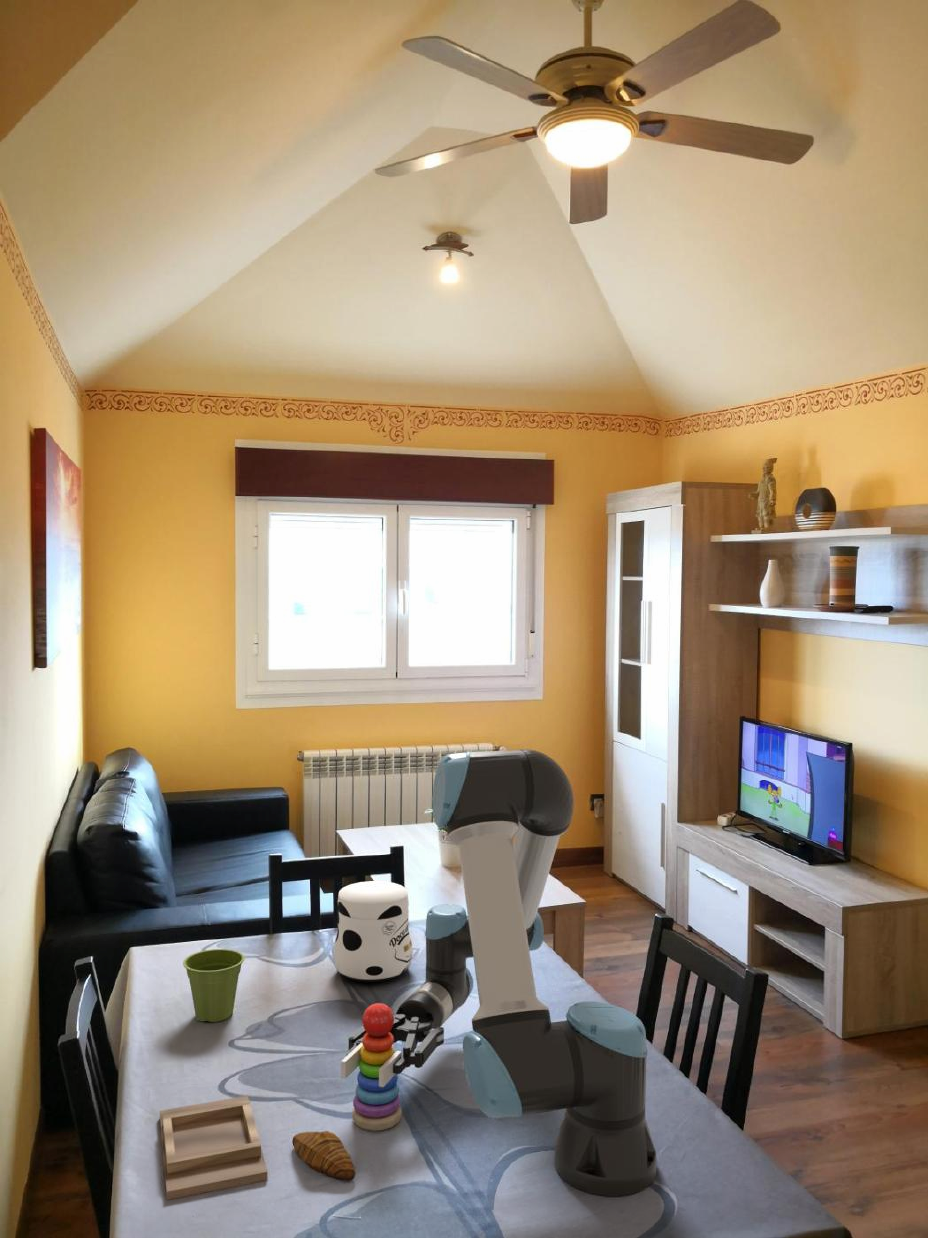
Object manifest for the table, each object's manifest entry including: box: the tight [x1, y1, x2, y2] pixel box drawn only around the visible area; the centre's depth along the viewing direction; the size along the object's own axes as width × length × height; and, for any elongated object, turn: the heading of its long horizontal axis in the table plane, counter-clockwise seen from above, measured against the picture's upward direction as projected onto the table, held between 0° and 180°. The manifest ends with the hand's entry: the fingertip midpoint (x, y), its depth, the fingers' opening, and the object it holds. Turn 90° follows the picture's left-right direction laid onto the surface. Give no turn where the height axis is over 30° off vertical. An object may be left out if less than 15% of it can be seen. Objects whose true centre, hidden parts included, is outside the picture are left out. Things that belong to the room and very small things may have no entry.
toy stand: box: [159, 1095, 269, 1201], centre depth 152 cm, size 22×14×3 cm, turn 20°
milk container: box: [333, 880, 414, 983], centre depth 217 cm, size 17×17×18 cm
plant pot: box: [182, 948, 245, 1023], centre depth 196 cm, size 12×12×11 cm
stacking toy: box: [351, 1002, 403, 1131], centre depth 159 cm, size 8×8×19 cm
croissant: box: [291, 1130, 356, 1182], centre depth 148 cm, size 14×7×5 cm, turn 47°
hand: (362, 1074), depth 154 cm, fingers closed on stacking toy, 6 cm apart
